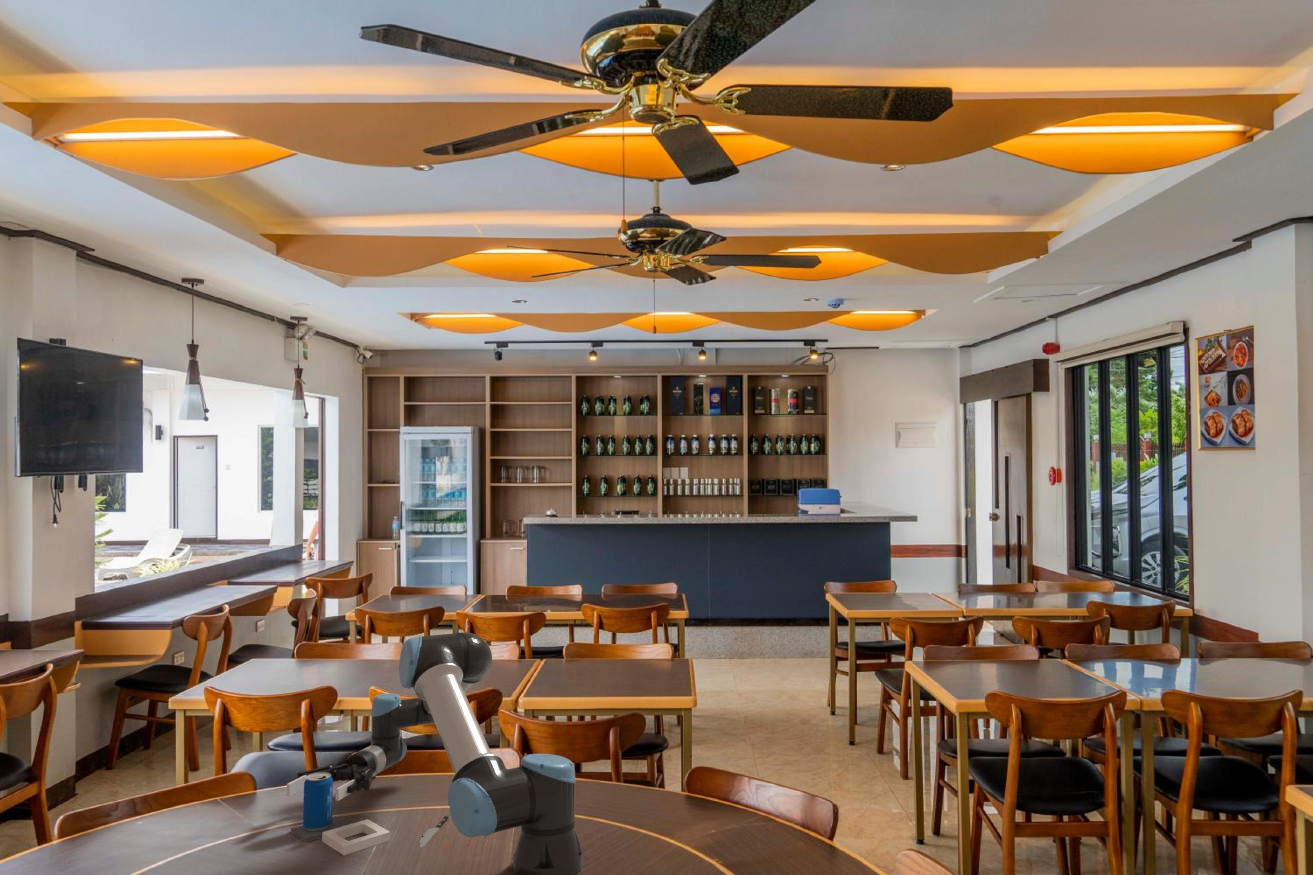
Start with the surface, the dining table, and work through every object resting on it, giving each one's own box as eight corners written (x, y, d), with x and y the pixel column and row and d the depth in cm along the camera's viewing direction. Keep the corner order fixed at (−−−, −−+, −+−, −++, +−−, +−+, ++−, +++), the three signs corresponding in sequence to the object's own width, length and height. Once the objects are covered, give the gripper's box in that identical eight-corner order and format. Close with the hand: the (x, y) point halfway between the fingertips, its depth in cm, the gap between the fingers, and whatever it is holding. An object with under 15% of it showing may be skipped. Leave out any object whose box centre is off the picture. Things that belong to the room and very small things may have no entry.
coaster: (343, 831, 204) (343, 826, 204) (306, 842, 198) (306, 837, 198) (327, 821, 210) (327, 816, 210) (290, 831, 204) (290, 827, 204)
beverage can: (321, 833, 200) (322, 781, 201) (297, 831, 202) (298, 779, 202) (337, 822, 207) (338, 772, 207) (313, 820, 208) (314, 770, 209)
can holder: (389, 840, 198) (389, 831, 199) (343, 855, 190) (343, 846, 191) (367, 827, 206) (367, 818, 206) (322, 840, 198) (322, 832, 199)
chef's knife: (407, 852, 193) (419, 852, 193) (406, 847, 193) (419, 847, 193) (437, 819, 212) (449, 819, 212) (437, 814, 212) (449, 814, 212)
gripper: (406, 783, 220) (357, 812, 199) (323, 775, 226) (267, 803, 206) (406, 753, 220) (358, 780, 200) (323, 746, 227) (268, 771, 206)
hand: (312, 792), depth 203 cm, fingers open, 13 cm apart
